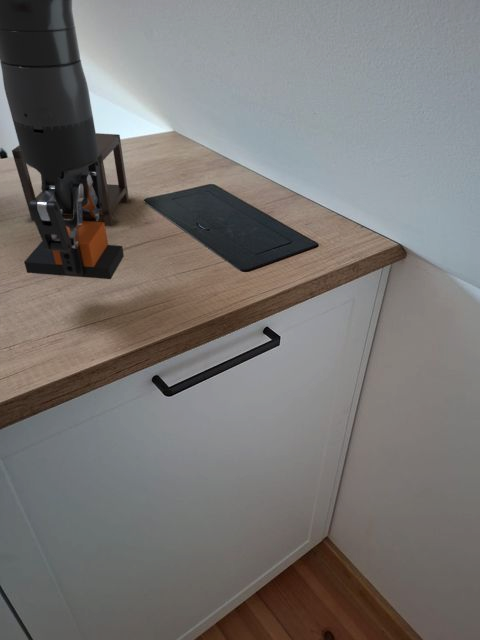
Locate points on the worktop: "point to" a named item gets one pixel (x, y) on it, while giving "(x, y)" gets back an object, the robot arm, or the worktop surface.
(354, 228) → the worktop surface
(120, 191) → the rack
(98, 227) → the orange cube on base
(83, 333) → the worktop surface
